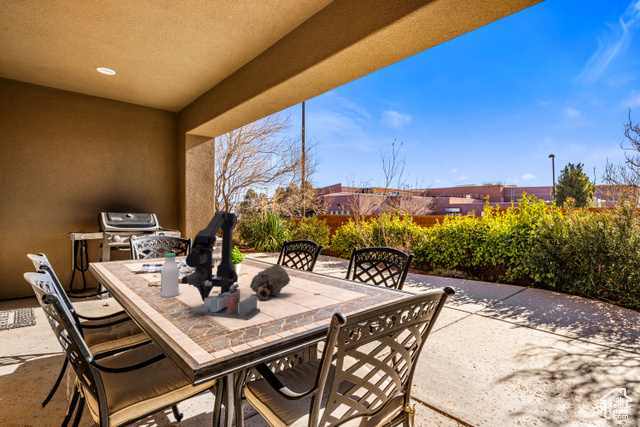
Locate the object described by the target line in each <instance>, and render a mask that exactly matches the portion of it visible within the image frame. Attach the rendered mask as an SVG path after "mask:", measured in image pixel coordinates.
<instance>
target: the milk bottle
mask: <svg viewBox="0 0 640 427" xmlns="http://www.w3.org/2000/svg"><path fill="white" fill-rule="evenodd" d="M162 265H163V266H162V267H161V270H160V272H161V273H160V296H161V297H163V298H172V297H177V296H178V295H179V292H180V291H179V289H180V288H179V287H180V286H179V284H180V283H179V282H180V276H179V275H180V274H179V273H180V272H179V267H178V264H177V262H176V253H175V252H174V253H173V252H170V253H169V252H168V253H165V254H164V263H163V264H162Z"/></svg>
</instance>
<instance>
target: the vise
mask: <svg viewBox="0 0 640 427" xmlns="http://www.w3.org/2000/svg"><path fill="white" fill-rule="evenodd" d="M188 311H189V313H188V314H195V315H196V314H197V315H204V316H212V317H221V318H230V319H238V320H245V321H246V320H247V321H248V320H250V319H251V318H253V317H255V316H256V315H258V314H259V313H261V308H258V295H250V296H248V297H246V298H244V299H242V300H240V302H239V303H238V311H236V312H234V313H230V314H229V313H227V307H225V308H223V309H221V310H219V311H217V312H211V306H204V303H202V304H199V305H197V306H195V307H192V308H191V309H189V310H188Z"/></svg>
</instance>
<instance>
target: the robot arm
mask: <svg viewBox="0 0 640 427" xmlns="http://www.w3.org/2000/svg"><path fill="white" fill-rule="evenodd" d="M237 222H238V215H237V214H236V213H234V212H228V211H226V210H216V211H215V212H214V214H213V217H212V218H211V219H210V221H209V222H208V224H207V225H206V227H205V228H203V229H201V230H200V231H198V232H197V233H196V234H195V236H194V239H193V242H192V244H191V247H190V253H188V254H187V255H186V258H185V264H186V265H187V266H188V267H189V268H191V269H194V271H193V272H191V273H189V274H187V275H183V276H182V278H181V280H180V281H181V283H180V284H182V285H188V286H193V287H194V288H196V289H197V290H198V292H199V294H200V297H201V300H202V302H204V298H206V297H209V296H210V294H211V292H212V290H213V288H215V287H216V288H220V292H219V293H217V296H218V295H221V294H223V293H225V292H226V293H228V292H230V287H231V285H235V284H236V283H238V280H239V276H238V273H237V271H236V266H235V264H234V262H233V261H232V257H233V231H234V230H235V228H236V227H237ZM220 229H221V232H222V234H221V260H220V263H219V264H218V265H217V266H216V274H213V269H214V268H215V264H213V254H214V253H213V252H214V251H215V249H214V246H215V244H216V243H217V233H218V232H219V231H220ZM215 275H216V278H215Z"/></svg>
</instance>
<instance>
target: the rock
mask: <svg viewBox="0 0 640 427" xmlns="http://www.w3.org/2000/svg"><path fill="white" fill-rule="evenodd" d="M290 281H291V279H290V277H289V273H288V272H287V271H286V269H285V268H284V267H282V266H281V265H280V264H276V263H275V264H273V265H271V266H270V267H267V268H266V269H264V270H261V271H257V274H256V275H254V276H253V278H252V280H251V282H250V285H249V288H251V290H252V292H254V293H255V294H256V296H257V298H259V300H262V301H265V300H268V298H269V296H270V295H271V296H277V295H279V294H280V293H281V292H282V290H283V288H285V287H287V286H288V285H289V284H290Z"/></svg>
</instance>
